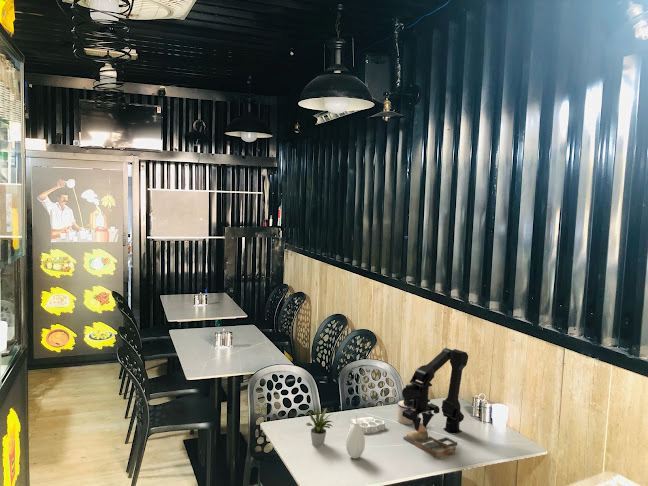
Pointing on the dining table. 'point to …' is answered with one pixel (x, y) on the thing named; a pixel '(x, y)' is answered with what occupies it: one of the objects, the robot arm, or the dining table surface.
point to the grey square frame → (448, 440)
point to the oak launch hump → (417, 435)
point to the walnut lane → (439, 454)
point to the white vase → (355, 440)
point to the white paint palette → (369, 424)
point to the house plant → (318, 428)
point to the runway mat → (425, 442)
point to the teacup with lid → (400, 412)
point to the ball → (421, 428)
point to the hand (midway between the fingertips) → (420, 429)
